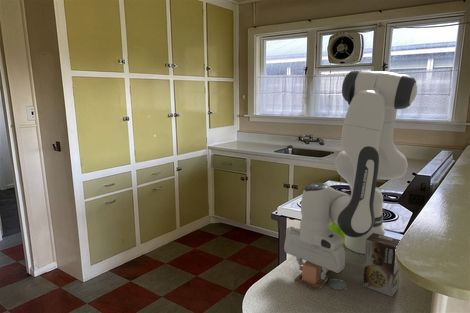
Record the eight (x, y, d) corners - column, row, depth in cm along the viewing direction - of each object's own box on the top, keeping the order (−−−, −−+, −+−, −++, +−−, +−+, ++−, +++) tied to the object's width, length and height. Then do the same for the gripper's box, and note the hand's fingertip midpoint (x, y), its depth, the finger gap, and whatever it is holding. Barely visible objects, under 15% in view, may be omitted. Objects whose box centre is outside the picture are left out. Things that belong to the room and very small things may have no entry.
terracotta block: (307, 275, 112) (308, 259, 111) (320, 280, 110) (321, 263, 108) (301, 281, 109) (302, 264, 107) (315, 286, 106) (315, 268, 105)
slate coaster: (331, 278, 110) (331, 277, 110) (348, 284, 107) (348, 282, 107) (325, 286, 106) (325, 284, 106) (343, 292, 103) (343, 290, 103)
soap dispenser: (347, 256, 125) (351, 205, 121) (338, 263, 120) (341, 210, 117) (333, 251, 129) (336, 201, 126) (323, 257, 125) (326, 206, 121)
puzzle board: (316, 260, 123) (317, 245, 121) (337, 266, 118) (338, 251, 117) (294, 282, 108) (295, 265, 107) (318, 290, 104) (319, 273, 102)
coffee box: (398, 288, 105) (403, 240, 102) (391, 297, 100) (397, 247, 97) (369, 277, 111) (373, 231, 108) (361, 285, 106) (365, 238, 103)
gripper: (281, 227, 111) (279, 266, 113) (339, 247, 97) (336, 290, 99) (291, 222, 115) (290, 259, 118) (348, 240, 101) (345, 281, 104)
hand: (311, 273), depth 108 cm, fingers open, 6 cm apart
